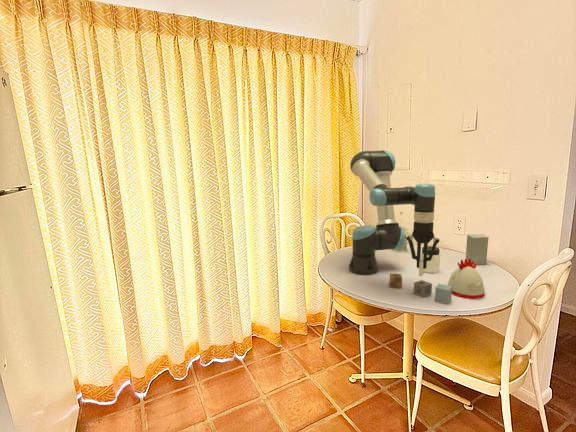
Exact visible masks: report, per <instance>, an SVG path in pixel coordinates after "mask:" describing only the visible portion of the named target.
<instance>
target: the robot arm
mask: <svg viewBox="0 0 576 432" xmlns="http://www.w3.org/2000/svg"><path fill="white" fill-rule="evenodd" d="M395 158H396V157H395V155H394V154H393V152H391V151H389V150H385V149H384V150H383V149H381V150H363V151H360V152H357V153H356V154H355V155H354V156H353V157H352V158H351V161H350V163H349V165H350V170H351V172H352V174H353V175H354V176H356V177H357V178H359V180H361V182H362V184H363V185H364V186H365V187H366V189H367V191H368V192H369V201H370V204H371V205H372V206H373V207H374V206H375V207H376V213H377V220H378V221H377V223H376V224H375V225H371V224H369V225H367V224H365V225H360V226H357V227H355V228H353V230H352V236H351V238H352V248H351V249H352V252H351V253H352V255H351V259H350V262H349V263H348V270H349V271H350V272H351V273H353V274H357V275H362V276H363V275H364V276H366V275H367V276H368V275H375V274H376V273H378V272H379V264H378V261H377V259H376V251H384V250H388V251H389V250H392V249H398V248H400V247H402V245H403V243H404V240H405V233H406V231H404V230H403V228H402V227H403V226H401V225H400V224H399V223H400V222H398V221H397V220H396V217H395V210H394V206H403V205H413V206H414V207H413V208H414V210H413V212H414V213H413V220H414V221H413V230H412V233H411V234H409V235H406V239H407V243H408V242H409V243H408V245H409V246H408V247H409V249H410V250H409V251H410V254H411V258H412V259H413V260H416V268H418V276H419V277H422V278H423V276H424V269H426V267H427V261H431V259H432V256H433V253H434V250H435V247H437V245H438V244H439V243H440V242H441V241H440V238H439V237H436V236H435V234H434V220H435V218H434V217H435V206H436V205H435V203H436V186H435V185H434V183H417V184H415V186H411V185H410V186H403V187H392V184H391V176H392V174H393V172H394V170H395V169H396V159H395ZM413 240H415V242H416V245H417V247H416V250H415V244H414V241H413ZM431 241H432V242H433V243H432V249H431V252H430V255H429V257H427V249H428V246H429V243H430V242H431ZM422 244H423V247H424V256H423V260H421V252H422Z"/></svg>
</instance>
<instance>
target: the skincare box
mask: <svg viewBox="0 0 576 432" xmlns="http://www.w3.org/2000/svg"><path fill="white" fill-rule="evenodd" d="M488 247H489V236H487V235H486V234H484V233H473V234H472V233H468V234H467V237H466V248H465V250H466V251H465V259H467V262H468V259H470V260H471V262H472V261H474V264H475V263H476V264H477V265H487V262H488V260H487V258H488V249H489V248H488ZM474 264H473V266H474Z"/></svg>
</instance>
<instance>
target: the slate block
mask: <svg viewBox="0 0 576 432" xmlns="http://www.w3.org/2000/svg"><path fill="white" fill-rule="evenodd" d="M434 292H435V293H434V302H436V303H440V304H445V305H449V304H450V303H451V301H452V295H453V294H452V286H448V284H444V283H438V284H437V285H436V287H435V291H434Z"/></svg>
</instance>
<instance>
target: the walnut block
mask: <svg viewBox="0 0 576 432" xmlns="http://www.w3.org/2000/svg"><path fill="white" fill-rule="evenodd" d="M389 287H390V288H392V289H402V288H403V276H402V273H389Z"/></svg>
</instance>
